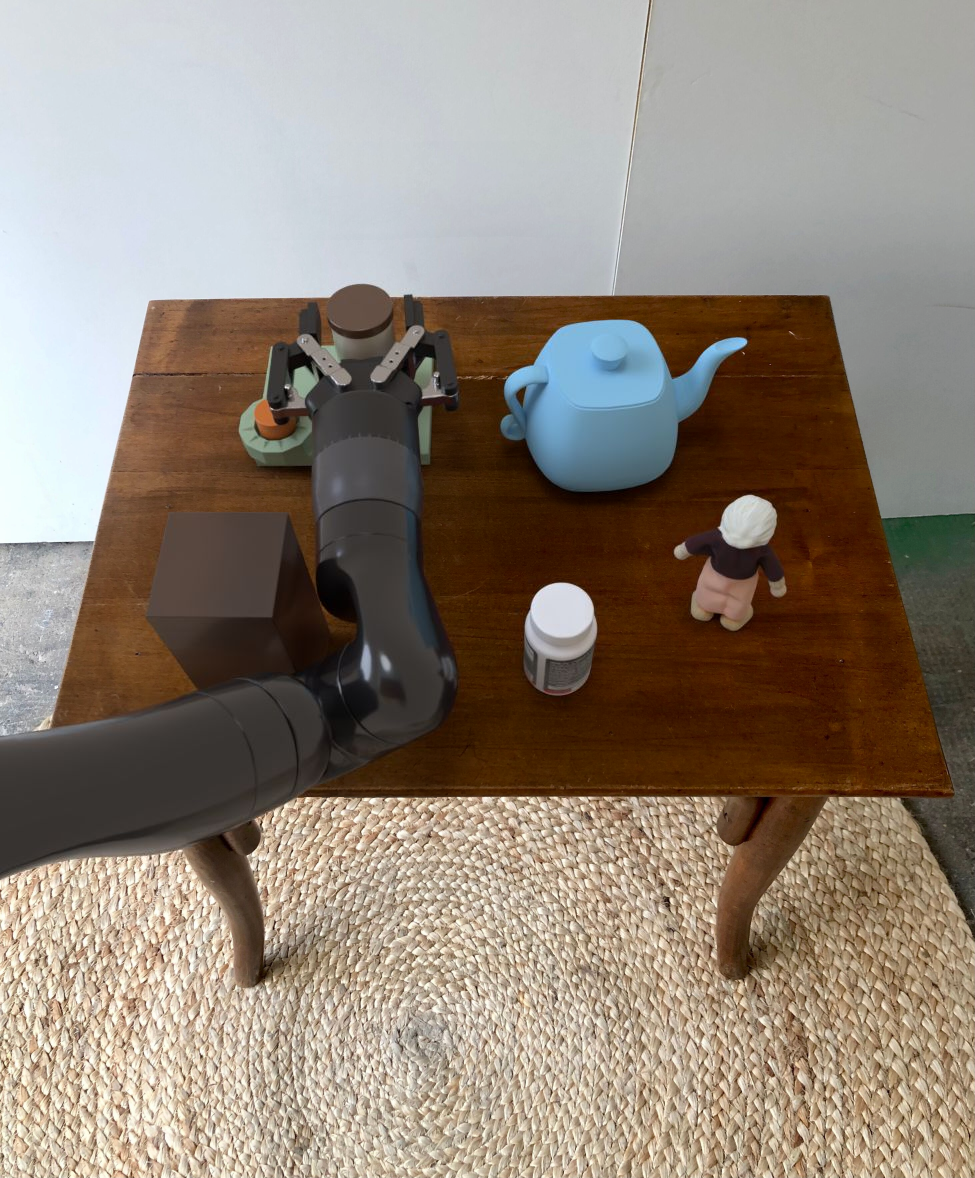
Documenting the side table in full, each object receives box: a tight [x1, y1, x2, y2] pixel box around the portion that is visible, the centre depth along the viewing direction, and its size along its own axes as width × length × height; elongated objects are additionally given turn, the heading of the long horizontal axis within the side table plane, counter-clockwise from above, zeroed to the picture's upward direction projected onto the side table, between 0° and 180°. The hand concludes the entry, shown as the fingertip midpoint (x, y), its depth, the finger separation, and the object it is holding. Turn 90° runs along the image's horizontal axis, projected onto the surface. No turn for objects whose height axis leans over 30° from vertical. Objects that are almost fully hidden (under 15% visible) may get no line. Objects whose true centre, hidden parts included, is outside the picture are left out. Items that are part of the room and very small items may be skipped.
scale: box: [238, 345, 435, 467], centre depth 75 cm, size 15×13×3 cm
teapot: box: [499, 319, 748, 493], centre depth 69 cm, size 13×11×18 cm
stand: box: [144, 511, 331, 691], centre depth 57 cm, size 7×7×15 cm
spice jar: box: [325, 283, 397, 363], centre depth 71 cm, size 5×5×9 cm
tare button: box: [254, 399, 296, 440], centre depth 71 cm, size 3×3×2 cm
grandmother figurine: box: [673, 494, 787, 632], centre depth 61 cm, size 8×4×13 cm, turn 77°
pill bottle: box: [523, 582, 598, 696], centre depth 60 cm, size 5×5×8 cm
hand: (361, 306), depth 70 cm, fingers open, 7 cm apart
